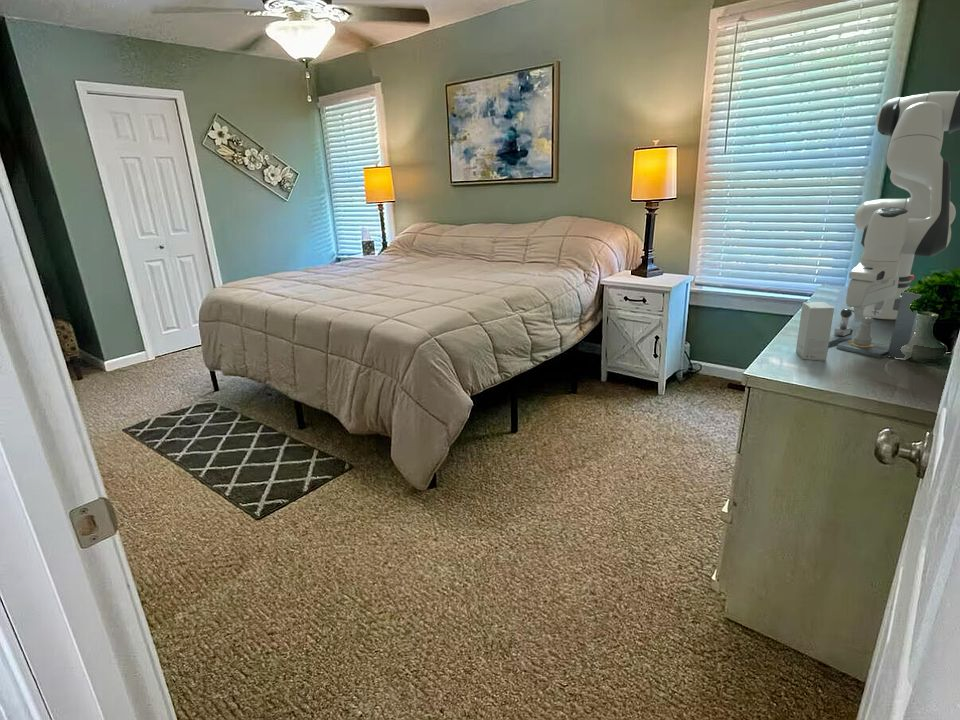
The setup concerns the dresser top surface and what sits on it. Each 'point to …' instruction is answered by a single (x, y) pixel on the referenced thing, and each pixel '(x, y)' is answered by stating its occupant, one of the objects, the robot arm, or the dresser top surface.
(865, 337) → the rook chess piece
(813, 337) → the skincare box
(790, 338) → the dresser top surface
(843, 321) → the lever
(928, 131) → the robot arm
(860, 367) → the dresser top surface
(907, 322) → the press
